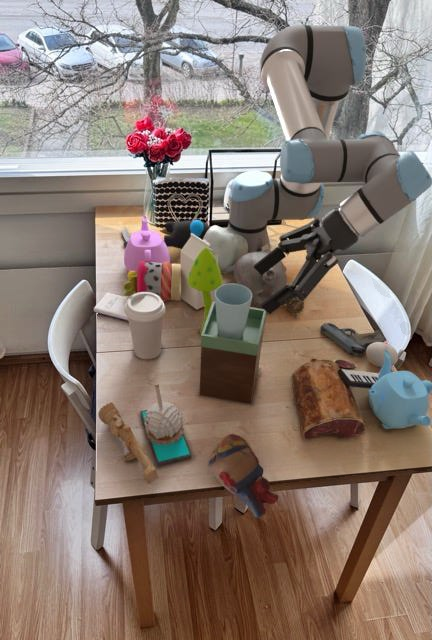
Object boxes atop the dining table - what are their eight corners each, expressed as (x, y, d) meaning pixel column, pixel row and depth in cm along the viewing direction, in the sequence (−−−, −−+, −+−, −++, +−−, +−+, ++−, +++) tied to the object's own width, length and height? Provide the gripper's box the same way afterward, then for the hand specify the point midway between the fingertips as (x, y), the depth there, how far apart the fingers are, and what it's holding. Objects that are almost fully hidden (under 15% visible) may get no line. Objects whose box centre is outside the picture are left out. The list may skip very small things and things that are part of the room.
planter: (245, 230, 152) (211, 218, 155) (227, 272, 152) (194, 259, 155) (255, 244, 163) (223, 233, 166) (238, 283, 164) (207, 270, 167)
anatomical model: (198, 454, 114) (240, 510, 115) (204, 464, 101) (251, 528, 103) (234, 427, 114) (275, 483, 116) (245, 434, 102) (290, 497, 103)
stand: (210, 361, 134) (212, 312, 124) (258, 369, 133) (264, 320, 123) (199, 395, 126) (200, 346, 116) (250, 404, 125) (256, 355, 114)
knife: (110, 228, 175) (125, 225, 177) (111, 232, 176) (125, 228, 178) (133, 254, 165) (148, 250, 167) (133, 258, 166) (148, 254, 168)
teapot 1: (173, 284, 157) (172, 248, 148) (126, 287, 155) (122, 250, 146) (166, 248, 170) (165, 212, 162) (123, 249, 169) (120, 214, 160)
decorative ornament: (160, 414, 121) (151, 365, 110) (190, 426, 118) (183, 377, 107) (140, 438, 116) (128, 390, 105) (170, 452, 113) (162, 404, 103)
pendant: (308, 293, 150) (296, 285, 147) (308, 317, 147) (296, 309, 144) (294, 300, 153) (282, 293, 150) (294, 323, 150) (281, 316, 147)
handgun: (352, 309, 148) (320, 324, 143) (391, 337, 140) (359, 353, 135) (350, 316, 150) (318, 331, 144) (388, 344, 142) (356, 361, 137)
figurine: (147, 492, 107) (100, 429, 118) (165, 481, 109) (116, 419, 120) (141, 471, 102) (92, 407, 113) (160, 460, 103) (109, 397, 115)
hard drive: (136, 323, 144) (94, 312, 146) (149, 306, 149) (107, 296, 152) (136, 318, 142) (93, 308, 145) (148, 301, 148) (107, 291, 151)
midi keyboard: (390, 373, 132) (403, 387, 129) (387, 377, 133) (399, 391, 130) (340, 367, 123) (352, 382, 119) (336, 372, 123) (348, 386, 120)
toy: (165, 210, 163) (215, 213, 162) (168, 236, 173) (215, 239, 172) (162, 232, 159) (213, 235, 158) (165, 258, 169) (213, 261, 168)
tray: (212, 312, 124) (212, 301, 122) (265, 320, 123) (266, 309, 120) (200, 346, 115) (200, 335, 113) (257, 356, 114) (258, 344, 112)
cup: (254, 340, 117) (258, 300, 109) (221, 348, 114) (223, 308, 107) (239, 319, 122) (242, 280, 114) (207, 327, 119) (208, 287, 112)
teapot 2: (348, 417, 122) (364, 381, 114) (369, 382, 130) (385, 347, 122) (414, 450, 117) (435, 415, 109) (431, 412, 126) (451, 377, 118)
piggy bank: (295, 312, 147) (273, 276, 138) (242, 331, 154) (218, 298, 145) (292, 270, 159) (272, 234, 149) (243, 289, 165) (220, 256, 156)
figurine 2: (375, 330, 135) (370, 352, 140) (364, 342, 132) (359, 363, 136) (405, 342, 132) (399, 364, 136) (395, 355, 128) (389, 376, 133)
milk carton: (196, 310, 149) (198, 249, 135) (180, 298, 152) (180, 237, 139) (216, 300, 152) (219, 240, 139) (200, 289, 156) (201, 228, 142)
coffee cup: (150, 333, 141) (147, 284, 131) (174, 351, 136) (173, 302, 126) (120, 349, 136) (115, 300, 126) (144, 369, 131) (141, 320, 121)
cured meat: (351, 359, 137) (358, 338, 132) (382, 436, 119) (390, 415, 115) (281, 361, 135) (284, 340, 130) (301, 439, 118) (306, 418, 113)
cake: (179, 288, 156) (126, 285, 155) (180, 255, 149) (125, 251, 148) (178, 309, 149) (123, 306, 147) (180, 275, 142) (122, 272, 140)
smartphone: (157, 463, 111) (140, 411, 120) (157, 466, 111) (140, 413, 121) (192, 455, 112) (172, 404, 122) (192, 457, 113) (172, 406, 123)
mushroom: (197, 318, 146) (199, 234, 129) (225, 328, 144) (230, 244, 126) (181, 335, 141) (180, 250, 123) (209, 346, 138) (213, 261, 121)
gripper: (377, 272, 95) (280, 338, 105) (345, 204, 113) (265, 266, 122) (353, 245, 91) (256, 316, 101) (324, 179, 109) (243, 245, 118)
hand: (261, 289), depth 111 cm, fingers open, 13 cm apart
